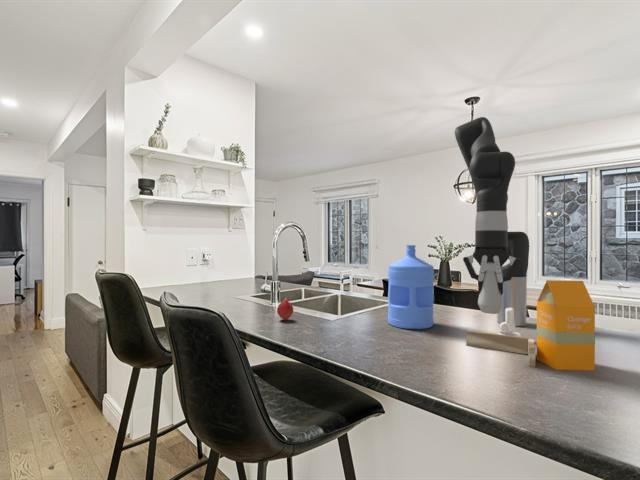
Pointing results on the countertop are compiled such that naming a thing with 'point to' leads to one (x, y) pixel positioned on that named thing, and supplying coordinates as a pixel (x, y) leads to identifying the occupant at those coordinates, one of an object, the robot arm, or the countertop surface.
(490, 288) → the salt shaker
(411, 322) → the water jug
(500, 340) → the beige l-shaped block
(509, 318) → the hook
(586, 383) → the countertop surface
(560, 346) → the orange juice
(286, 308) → the onion
